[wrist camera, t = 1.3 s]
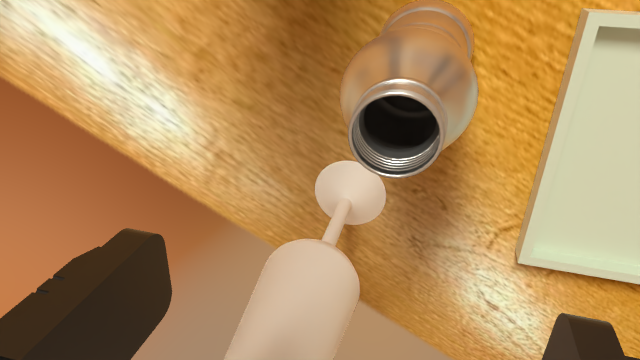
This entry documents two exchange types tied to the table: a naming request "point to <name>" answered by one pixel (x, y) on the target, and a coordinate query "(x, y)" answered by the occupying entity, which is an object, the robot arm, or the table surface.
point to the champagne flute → (311, 278)
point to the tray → (591, 158)
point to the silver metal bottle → (410, 89)
